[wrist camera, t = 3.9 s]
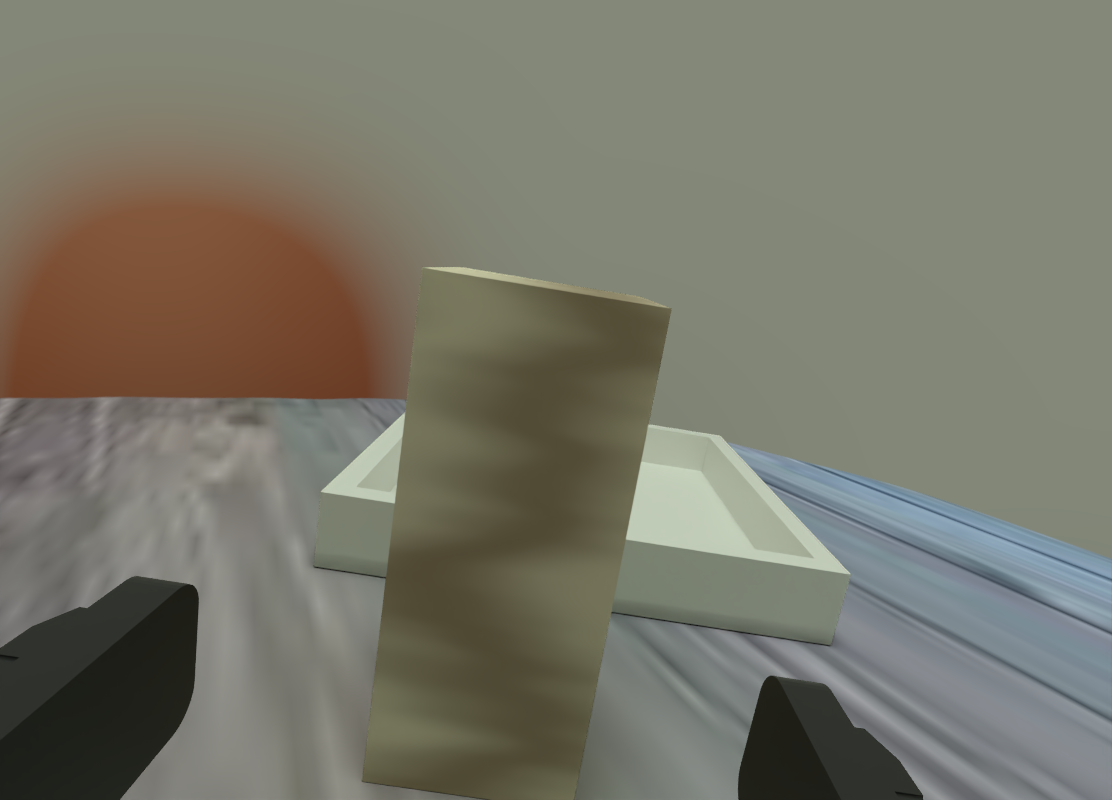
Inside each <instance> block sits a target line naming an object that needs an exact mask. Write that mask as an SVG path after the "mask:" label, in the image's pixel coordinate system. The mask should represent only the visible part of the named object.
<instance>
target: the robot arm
mask: <svg viewBox="0 0 1112 800" xmlns="http://www.w3.org/2000/svg"><path fill="white" fill-rule="evenodd" d="M198 606H199V598H198V592H197V589H196V588H195V587H194V586H193V585H190V584H185V583H178V582H172V581H165V580H159V579H152V578H146V577H139V576H135V577H132V578H129V579H128V580H126V581H124V582H123V583H122V584H120V585H119V586H117V587H116V588H115V589H113V590H112V591H111V592H109V593H108V594H106V595H105V596H104V597H102V598H101V599H100V600H98V601H97V602H95V603H94V604H93V605H91V606H90V607H88V608H82V607H79V608H76V609H74V610H72V611H69V612H67V613H64V614H62V615H59V616H57V617H54V618H52V619H49V620H47V621H44V622H42V623H40V624H37V625H35V626H32V627H31V628H29V629H28V630H26V631H25V632H23V633H22V634H20V635H19V636H17V637H16V638H14V639H13V640H11V641H10V642H9V643H7V644H6V645H4V646H3V647H1V648H0V800H120V799H121V798H122V796H123V795H124V794H125V793H126V792H127V790H128V789H129V788H130V787H131V785H132V784H133V783H134V782H135V781H136V779H137V778H138V777H139V776H140V775H141V773H142V772H143V771H144V770H145V769H146V767H147V766H148V765H149V764H150V763H151V761H152V760H153V759H154V758H155V756H156V755H157V754H158V753H159V752H160V750H161V749H162V748H163V747H164V746H165V744H166V743H167V742H168V741H169V740H170V738H171V737H172V736H173V734H174V733H175V732H176V730H177V729H178V727H179V726H180V724H181V722H182V720H183V718H184V716H185V714H186V712H187V709H188V707H189V704H190V701H191V698H192V694H193V689H194V681H195V663H196V644H197V625H198ZM738 799H739V800H923V795H922V793H921V792H920V790H919V789H918V787H917V786H916V784H915V783H914V781H913V780H912V778H911V777H910V776H909V774H908V773H907V771H906V770H905V768H904V767H903V765H902V764H901V762H900V761H899V760H898V759H897V758H896V757H895V756H894V755H893V754H892V753H891V752H889V751H888V750H887V749H886V748H885V747H884V746H883V745H882V744H881V743H879V742H878V741H877V740H876V739H875V738H874V737H873V736H872V735H871V734H870V733H868V732H867V731H866V730H865V729H862V728H855V727H854V726H853V725H852V723H851V721H850V720H849V718H848V717H847V715H846V713H845V712H844V710H843V709H842V707H841V706H840V704H839V702H838V701H837V699H836V698H835V696H834V694H833V693H832V691H831V690H830V689H829V687H827V686H826V685H825V684H822V683H816V682H809V681H803V680H796V679H790V678H783V677H777V676H769V677H767V678H766V680H765V681H764V683H763V685H762V687H761V691H760V694H759V698H758V702H757V705H756V709H755V713H754V717H753V721H752V724H751V728H750V732H749V736H748V740H747V743H746V747H745V751H744V755H743V758H742V762H741V766H740V771H739V780H738Z"/></svg>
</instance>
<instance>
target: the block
mask: <svg viewBox="0 0 1112 800" xmlns="http://www.w3.org/2000/svg"><path fill="white" fill-rule="evenodd" d="M670 314H671V308H668V307H665V306H663V305H660V304H658V303H655V302H653V301H650V300H647V299H645V298H642V297H638V296H632V295H626V294H620V293H614V292H608V291H602V290H596V289H590V288H584V287H578V286H572V285H566V284H560V283H554V282H547V281H541V280H535V279H530V278H524V277H518V276H511V275H505V274H499V273H493V272H487V271H481V270H475V269H469V268H463V267H432V268H429V267H427V268H422V274H421V282H420V291H419V300H418V308H417V316H416V326H415V334H414V342H413V352H412V360H411V368H410V376H409V385H408V395H407V402H406V411H405V419H404V428H403V436H402V445H401V454H400V462H399V471H398V479H397V488H396V496H395V505H394V514H393V522H392V531H391V539H390V548H389V556H388V565H387V574H386V582H385V591H384V599H383V608H382V616H381V625H380V634H379V642H378V651H377V659H376V668H375V676H374V685H373V694H372V702H371V711H370V719H369V728H368V736H367V745H366V754H365V762H364V771H363V779H362V781H363V782H370V783H377V784H384V785H391V786H398V787H405V788H412V789H419V790H426V791H433V792H440V793H447V794H454V795H461V796H467V797H474V798H481V799H488V800H574V798H575V792H576V787H577V782H578V777H579V772H580V767H581V762H582V757H583V752H584V747H585V742H586V737H587V732H588V727H589V722H590V717H591V712H592V707H593V702H594V697H595V692H596V687H597V682H598V677H599V672H600V667H601V662H602V656H603V651H604V646H605V641H606V636H607V631H608V626H609V621H610V616H611V611H612V606H613V601H614V596H615V591H616V586H617V581H618V576H619V571H620V566H621V561H622V556H623V551H624V546H625V541H626V536H627V531H628V526H629V521H630V515H631V510H632V505H633V500H634V495H635V490H636V485H637V480H638V475H639V470H640V465H641V460H642V455H643V450H644V445H645V440H646V435H647V430H648V425H649V420H650V415H651V410H652V404H653V400H654V395H655V389H656V384H657V380H658V374H659V369H660V364H661V359H662V354H663V349H664V344H665V339H666V334H667V329H668V324H669V319H670Z"/></svg>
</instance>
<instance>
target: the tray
mask: <svg viewBox="0 0 1112 800" xmlns="http://www.w3.org/2000/svg"><path fill="white" fill-rule="evenodd" d="M404 419H405V413H404V414H403V415H402V416H401V417H400V418H398V419H397V420H396V421H395V422H394V423H393V424H392V425H391V426H390V427H389V428H388V429H387V430H386V431H385V432H384V433H383V434H381V435H380V436H379V437H378V438H377V439H376V440H375V441H374V442H373V443H372V444H371V445H370V446H369V447H368V448H367V449H366V450H365V451H363V452H362V453H361V454H360V455H359V456H358V457H357V458H356V459H355V460H354V461H353V462H352V463H351V464H350V465H349V466H348V467H346V468H345V469H344V470H343V471H342V472H341V473H340V474H339V475H338V476H337V477H336V478H335V479H334V480H333V481H332V482H331V483H330V484H328V485H327V486H326V487H325V488H324V489H323V490H322V491H321V494H320V505H319V516H318V526H317V537H316V548H315V559H314V566H315V567H322V568H328V569H335V570H341V571H348V572H354V573H361V574H367V575H374V576H380V577H386V574H387V565H388V556H389V548H390V539H391V531H392V522H393V514H394V505H395V496H396V488H397V479H398V471H399V462H400V454H401V445H402V436H403V428H404ZM850 576H851V574H850V573H849V572H848V571H847V570H846V569H845V568H844V567H843V566H842V565H841V563H840V562H839V561H838V560H837V559H836V558H835V557H834V556H833V555H832V554H831V553H830V552H829V551H828V550H827V549H826V548H825V546H824V545H823V544H822V543H821V542H820V541H819V540H818V539H817V538H816V537H815V536H814V535H813V534H812V533H811V532H810V531H809V530H808V528H807V527H806V526H805V525H804V524H803V523H802V522H801V521H800V520H799V519H798V518H797V517H796V516H795V515H794V514H793V513H792V511H791V510H790V509H789V508H788V507H787V506H786V505H785V504H784V503H783V502H782V501H781V500H780V499H779V498H778V497H777V496H776V495H775V493H774V492H773V491H772V490H771V489H770V488H769V487H768V486H767V485H766V484H765V483H764V482H763V481H762V480H761V479H760V478H759V476H758V475H757V474H756V473H755V472H754V471H753V470H752V469H751V468H750V467H749V466H748V465H747V464H746V463H745V462H744V461H743V460H742V458H741V457H740V456H739V455H738V454H737V453H736V452H735V451H734V450H733V449H732V448H731V447H730V446H729V445H728V444H727V443H726V442H725V440H724V439H723V438H722V437H721V436H718V435H712V434H706V433H699V432H693V431H687V430H681V429H675V428H668V427H662V426H656V425H650V424H649V425H648V430H647V435H646V440H645V445H644V450H643V455H642V460H641V465H640V470H639V475H638V480H637V485H636V490H635V495H634V500H633V505H632V510H631V515H630V521H629V526H628V531H627V536H626V541H625V546H624V551H623V556H622V561H621V566H620V571H619V576H618V581H617V586H616V591H615V596H614V601H613V606H612V611H611V612H616V613H623V614H629V615H636V616H642V617H649V618H655V619H662V620H668V621H675V622H681V623H688V624H694V625H701V626H708V627H714V628H721V629H727V630H734V631H740V632H747V633H753V634H760V635H766V636H773V637H780V638H786V639H793V640H799V641H806V642H812V643H819V644H825V645H831V644H832V640H833V637H834V633H835V630H836V626H837V623H838V619H839V615H840V612H841V608H842V605H843V601H844V598H845V594H846V591H847V587H848V584H849V580H850Z"/></svg>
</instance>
